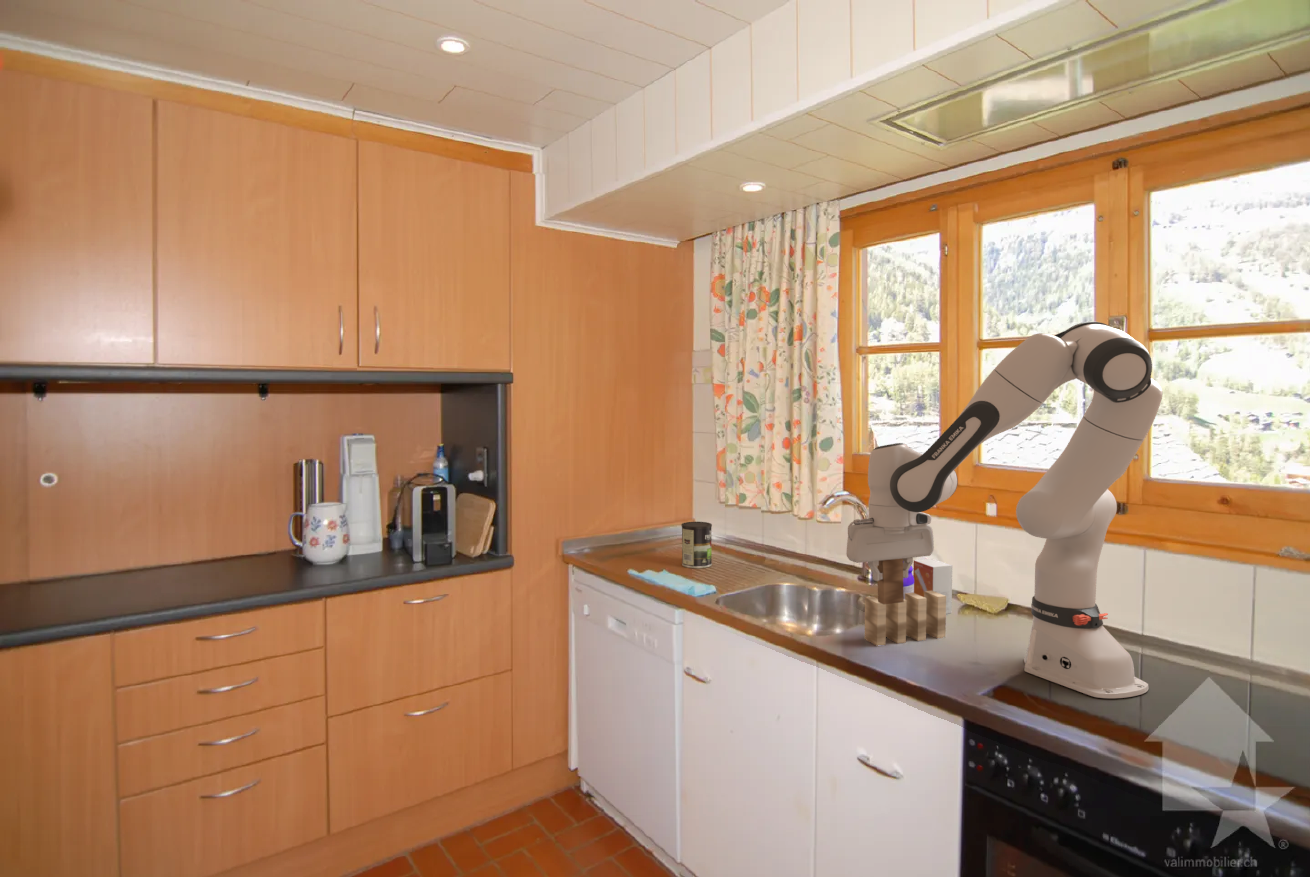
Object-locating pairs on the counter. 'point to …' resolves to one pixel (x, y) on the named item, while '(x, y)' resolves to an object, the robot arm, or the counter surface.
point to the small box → (933, 579)
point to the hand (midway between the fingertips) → (890, 578)
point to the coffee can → (696, 545)
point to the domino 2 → (891, 581)
